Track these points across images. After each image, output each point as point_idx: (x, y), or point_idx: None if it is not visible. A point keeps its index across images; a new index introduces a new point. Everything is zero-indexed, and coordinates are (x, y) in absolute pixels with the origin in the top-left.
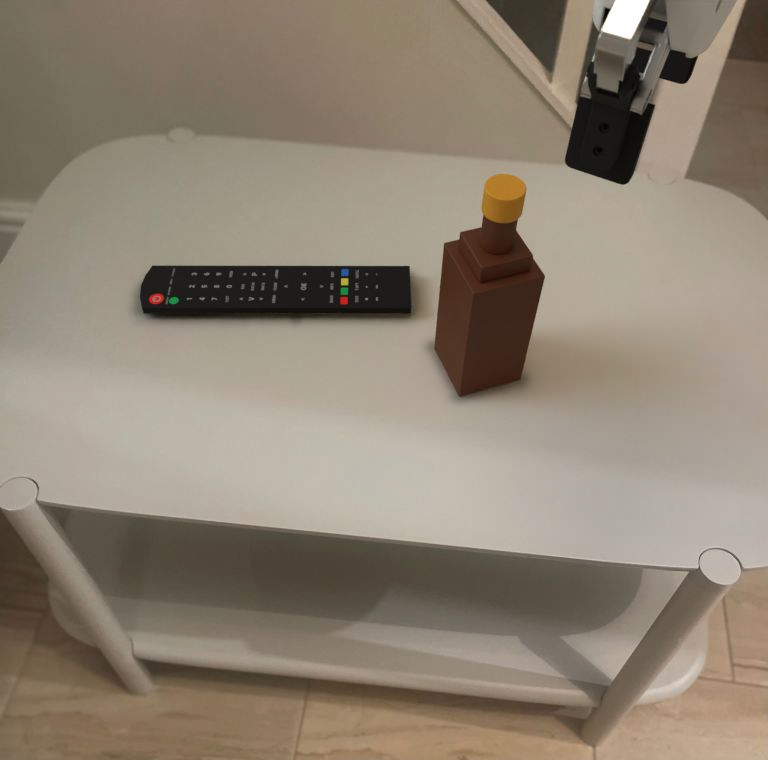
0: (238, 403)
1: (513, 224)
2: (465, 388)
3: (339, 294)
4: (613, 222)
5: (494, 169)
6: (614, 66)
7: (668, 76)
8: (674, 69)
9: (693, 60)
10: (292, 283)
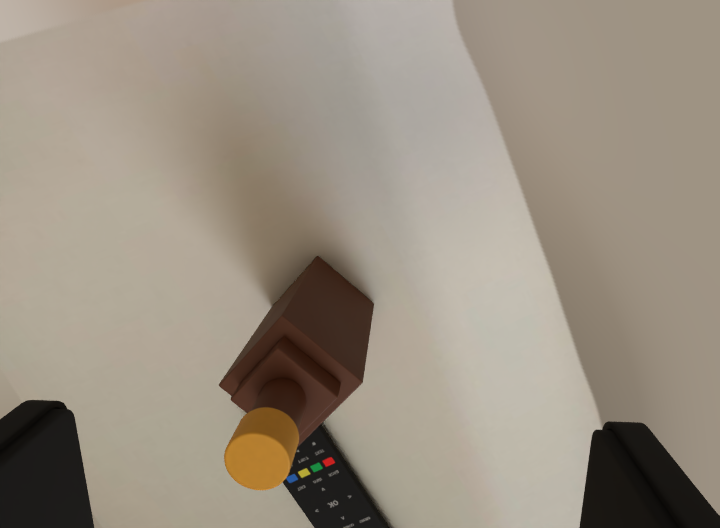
0: (488, 480)
1: (279, 406)
2: (368, 303)
3: (323, 469)
4: (22, 249)
5: None
6: None
7: (71, 454)
8: (55, 463)
9: (4, 445)
10: (335, 514)
